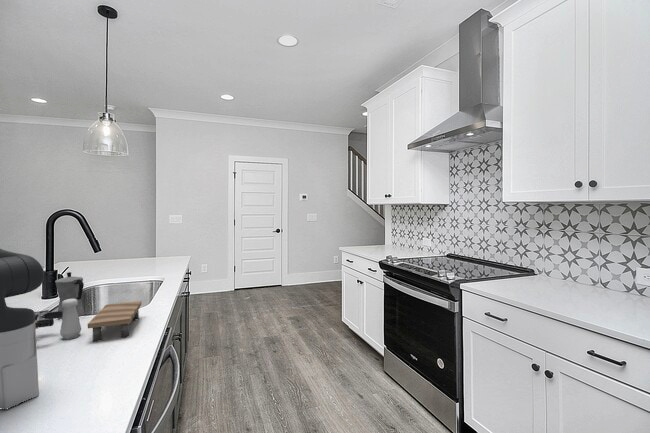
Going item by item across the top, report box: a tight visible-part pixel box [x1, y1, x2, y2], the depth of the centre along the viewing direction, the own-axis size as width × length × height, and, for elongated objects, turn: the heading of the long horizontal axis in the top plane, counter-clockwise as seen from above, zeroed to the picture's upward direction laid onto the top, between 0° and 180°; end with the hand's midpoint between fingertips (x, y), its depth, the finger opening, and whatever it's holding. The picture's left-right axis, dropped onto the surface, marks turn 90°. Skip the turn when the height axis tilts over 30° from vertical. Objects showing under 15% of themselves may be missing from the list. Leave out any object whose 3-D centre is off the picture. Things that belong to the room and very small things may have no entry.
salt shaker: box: [59, 299, 82, 340], centre depth 112 cm, size 6×6×13 cm
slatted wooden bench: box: [87, 300, 142, 343], centre depth 119 cm, size 22×12×6 cm, turn 21°
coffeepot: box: [55, 271, 85, 320], centre depth 133 cm, size 15×9×18 cm, turn 66°
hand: (58, 317), depth 110 cm, fingers open, 8 cm apart
